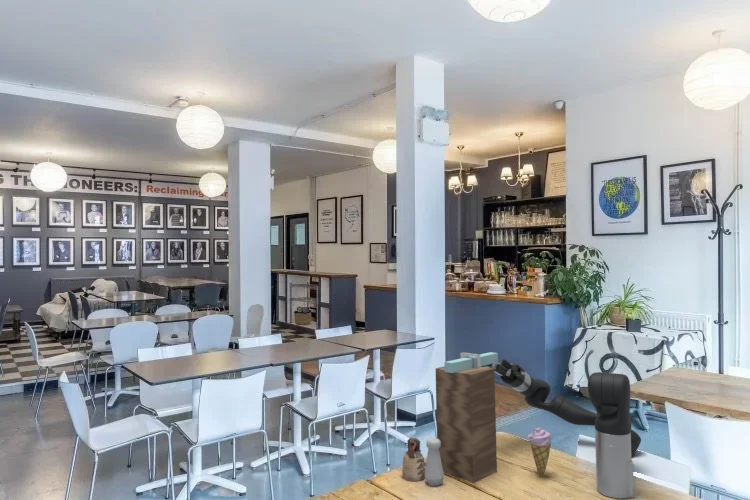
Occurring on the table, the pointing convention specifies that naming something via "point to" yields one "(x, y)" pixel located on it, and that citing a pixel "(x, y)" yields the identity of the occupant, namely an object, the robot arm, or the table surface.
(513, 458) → the table surface
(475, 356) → the arch
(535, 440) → the ice cream cone
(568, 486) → the table surface
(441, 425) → the plinth
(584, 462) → the table surface
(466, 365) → the peg
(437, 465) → the salt shaker
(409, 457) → the figurine
